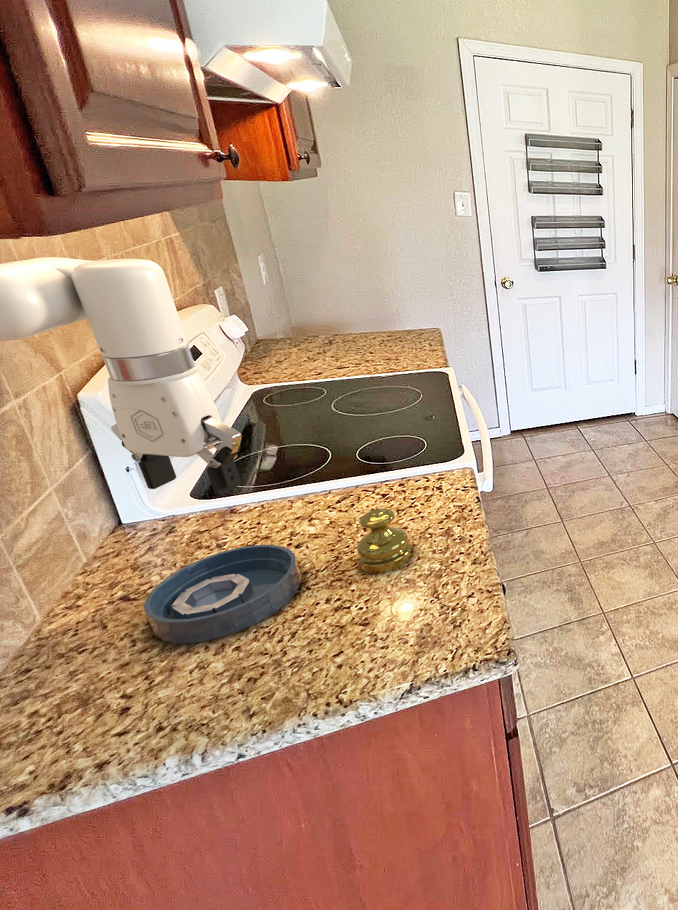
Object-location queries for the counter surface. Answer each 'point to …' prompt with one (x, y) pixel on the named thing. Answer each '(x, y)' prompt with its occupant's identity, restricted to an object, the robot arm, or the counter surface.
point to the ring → (187, 599)
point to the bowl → (225, 593)
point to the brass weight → (382, 543)
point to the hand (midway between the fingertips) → (195, 486)
